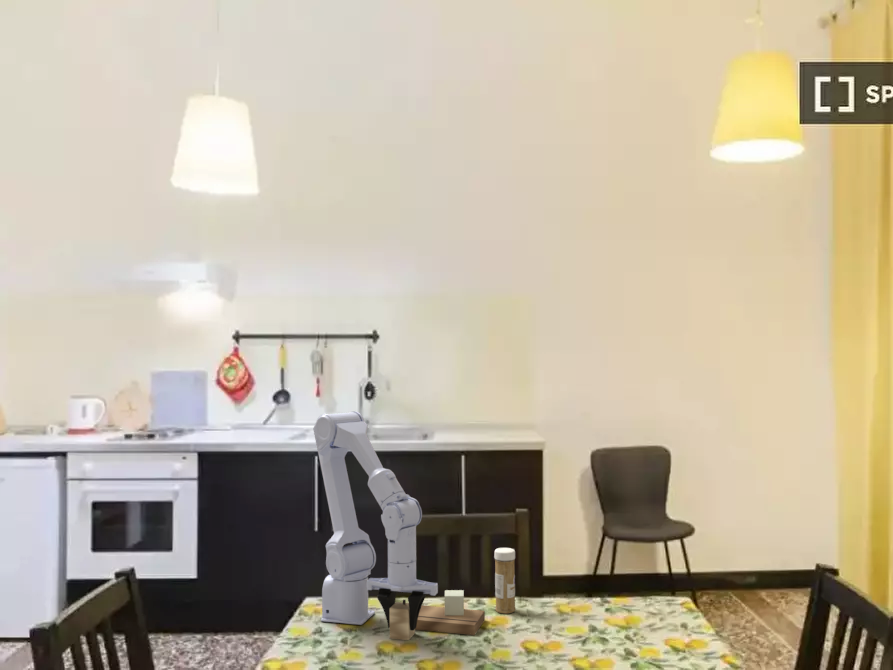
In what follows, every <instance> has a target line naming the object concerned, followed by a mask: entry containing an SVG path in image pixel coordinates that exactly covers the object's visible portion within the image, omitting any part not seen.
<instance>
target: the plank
mask: <svg viewBox="0 0 893 670" xmlns="http://www.w3.org/2000/svg"><path fill="white" fill-rule="evenodd" d="M485 612H486V611H485V610H481V609H480V610H479V609H467V608H464V615H445V606H436V605H435V606H434V605H424V604H422V606H421V609H420V612H419V615H418V620H417V626H416V628H415V631H427V632H438V633H447V634H459V635H460V634H461V635H469V636H475V635H476V634H477V633H478V632H479V630H480V628H481V626H482V625H483V623H484V622H485V620H486V619H485V618H486V617H485V616H486V613H485Z"/></svg>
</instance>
